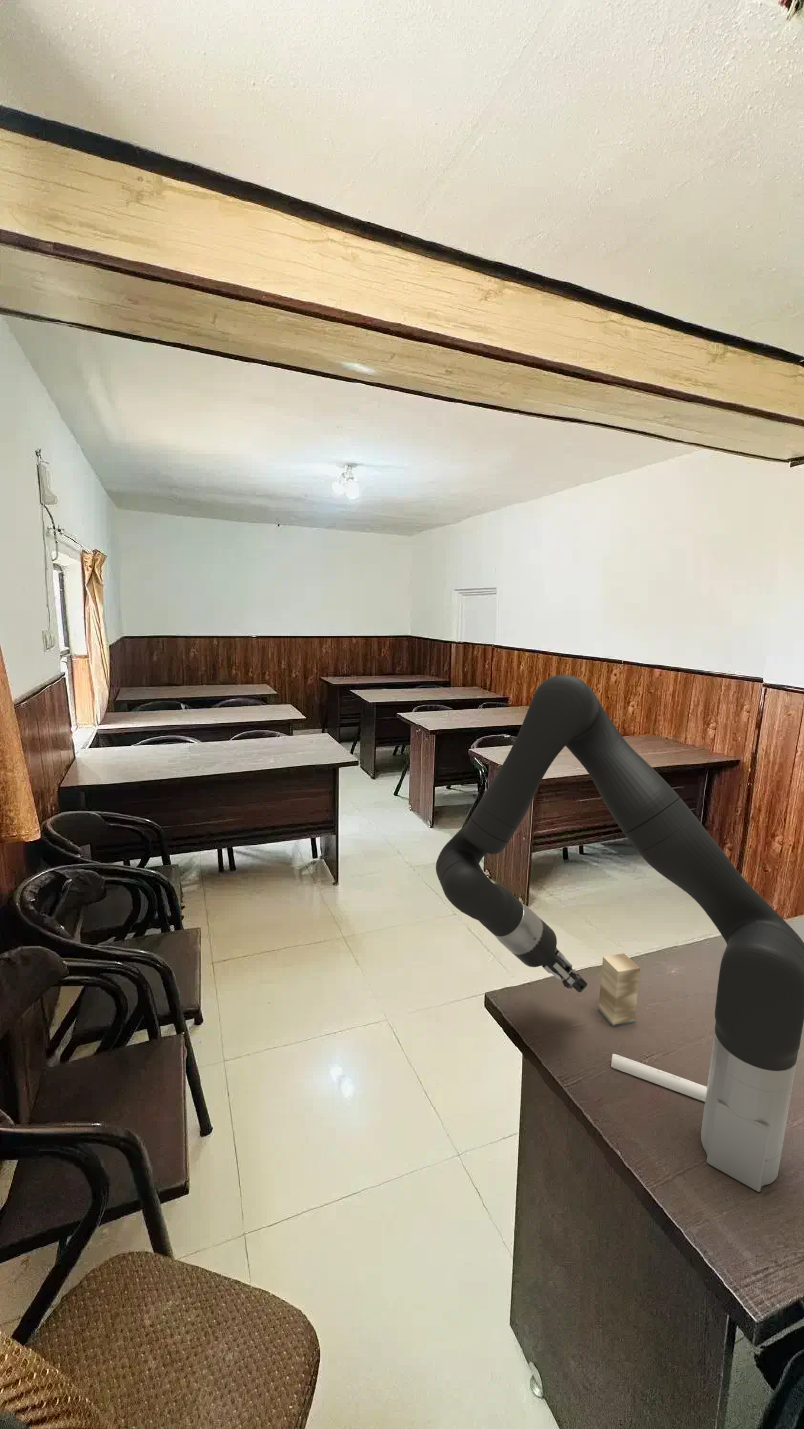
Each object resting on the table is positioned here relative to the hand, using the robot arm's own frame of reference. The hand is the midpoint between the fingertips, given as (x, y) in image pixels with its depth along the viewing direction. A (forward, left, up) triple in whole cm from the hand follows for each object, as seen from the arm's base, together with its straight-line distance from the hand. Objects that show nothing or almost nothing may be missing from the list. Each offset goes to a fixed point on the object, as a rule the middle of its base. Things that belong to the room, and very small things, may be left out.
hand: (581, 986), depth 99 cm
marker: (-4, -17, -8) cm, 19 cm away
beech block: (+6, -5, -8) cm, 11 cm away
